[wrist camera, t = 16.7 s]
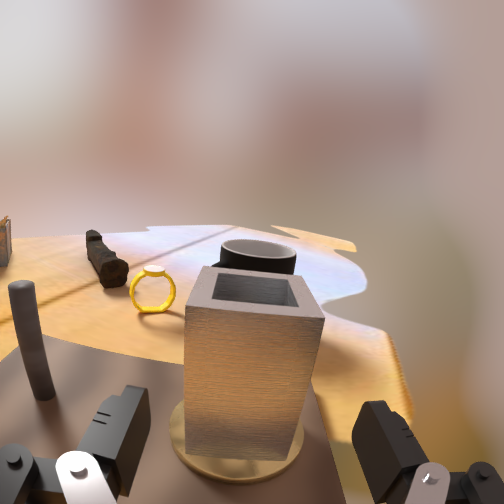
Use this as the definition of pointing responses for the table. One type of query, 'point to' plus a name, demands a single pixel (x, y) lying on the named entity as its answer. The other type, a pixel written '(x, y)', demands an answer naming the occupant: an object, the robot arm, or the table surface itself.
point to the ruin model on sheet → (5, 241)
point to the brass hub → (230, 468)
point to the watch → (153, 272)
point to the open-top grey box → (247, 362)
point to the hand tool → (105, 261)
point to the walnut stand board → (161, 407)
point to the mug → (257, 256)
